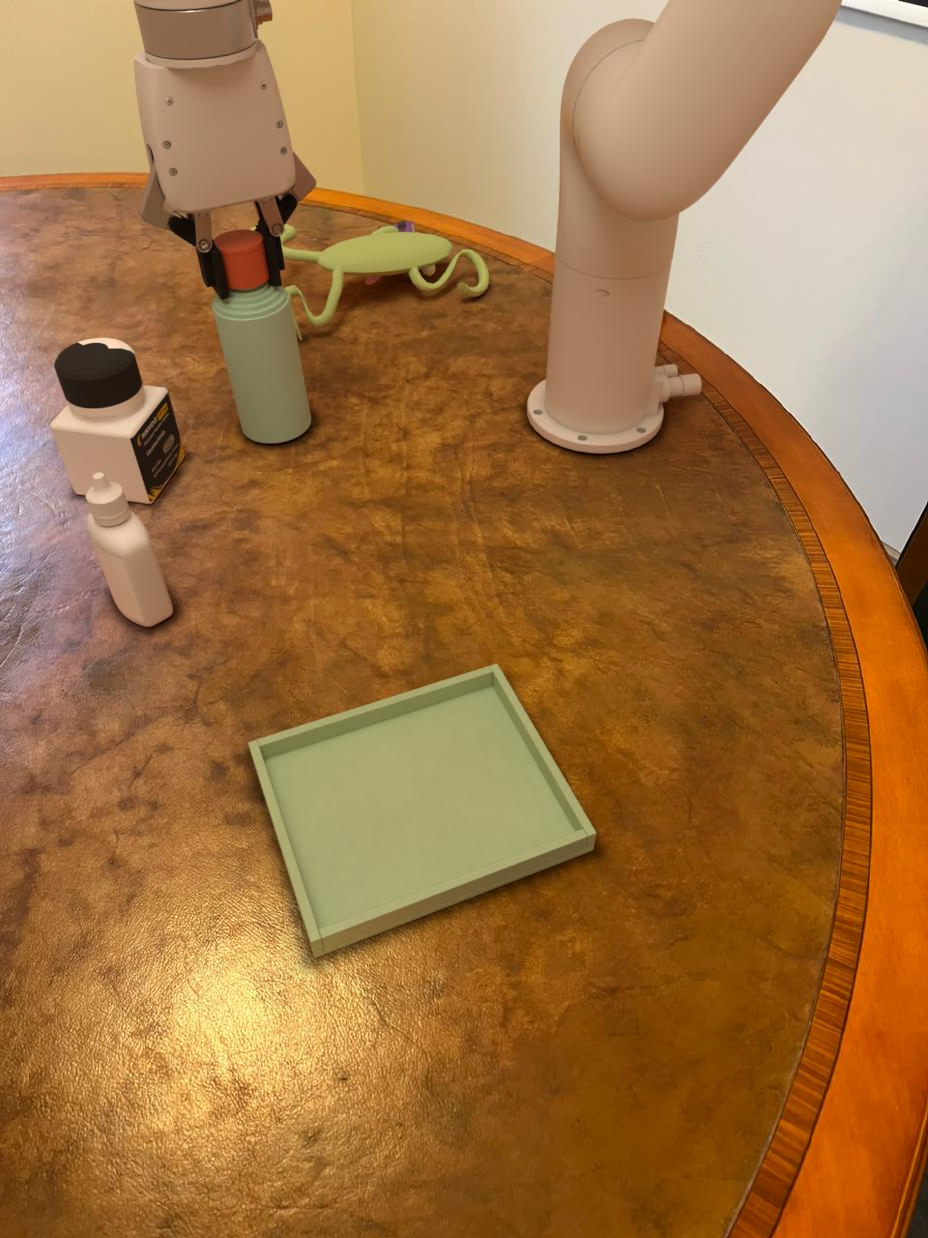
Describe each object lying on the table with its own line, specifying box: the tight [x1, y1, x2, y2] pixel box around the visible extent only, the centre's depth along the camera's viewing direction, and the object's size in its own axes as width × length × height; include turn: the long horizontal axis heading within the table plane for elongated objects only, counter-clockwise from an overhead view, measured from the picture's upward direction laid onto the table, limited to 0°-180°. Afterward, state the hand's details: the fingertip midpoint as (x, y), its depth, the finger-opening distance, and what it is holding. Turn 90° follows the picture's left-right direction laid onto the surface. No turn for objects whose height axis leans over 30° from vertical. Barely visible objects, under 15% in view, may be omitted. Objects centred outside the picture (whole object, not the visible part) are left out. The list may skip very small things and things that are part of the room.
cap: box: [213, 228, 270, 289], centre depth 74 cm, size 4×4×3 cm
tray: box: [247, 663, 597, 959], centre depth 57 cm, size 17×14×2 cm
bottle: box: [211, 280, 312, 444], centre depth 80 cm, size 6×6×16 cm
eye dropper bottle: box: [85, 473, 174, 628], centre depth 65 cm, size 4×6×12 cm
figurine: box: [249, 220, 490, 341], centre depth 103 cm, size 18×27×6 cm
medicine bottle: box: [49, 337, 186, 505], centre depth 76 cm, size 7×7×12 cm
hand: (246, 283), depth 76 cm, fingers closed on cap, 3 cm apart
